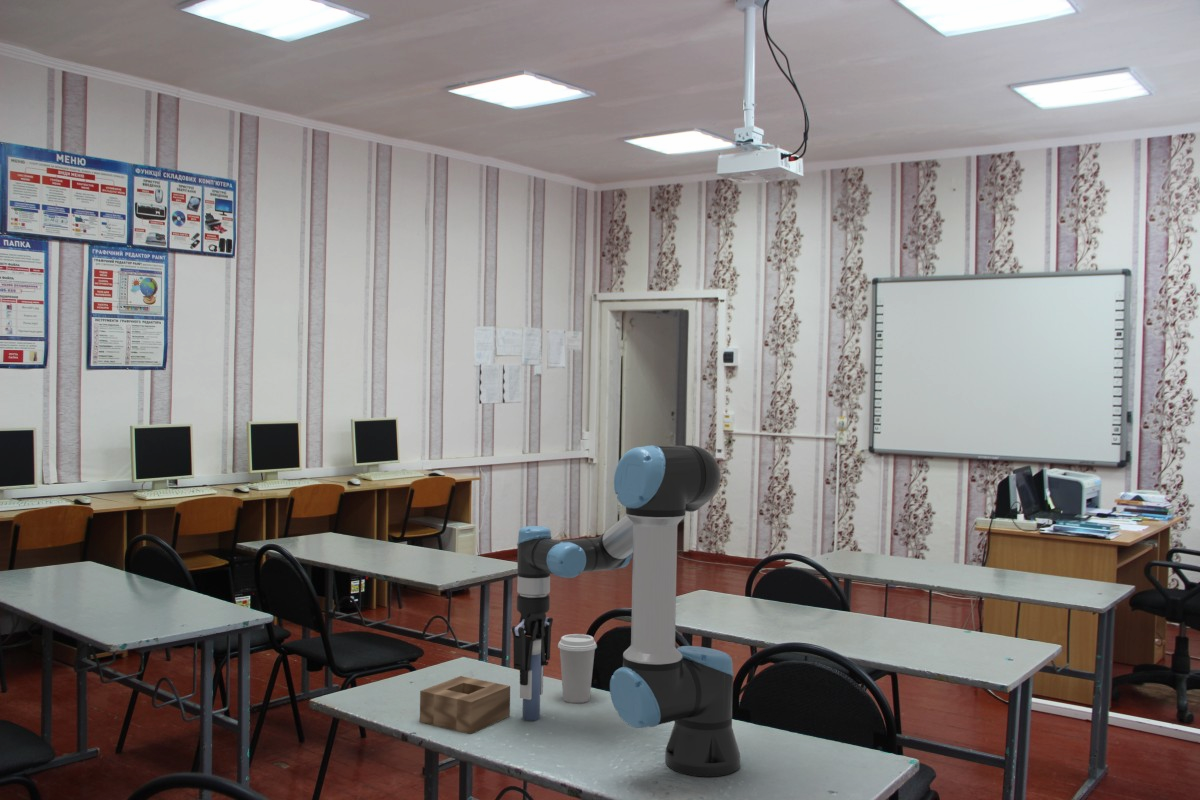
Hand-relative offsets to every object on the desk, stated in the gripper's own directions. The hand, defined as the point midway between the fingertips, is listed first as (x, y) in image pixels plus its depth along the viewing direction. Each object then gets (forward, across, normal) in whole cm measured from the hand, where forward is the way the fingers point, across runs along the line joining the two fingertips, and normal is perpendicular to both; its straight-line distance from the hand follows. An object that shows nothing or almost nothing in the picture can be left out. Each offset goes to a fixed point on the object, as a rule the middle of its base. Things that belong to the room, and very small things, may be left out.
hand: (531, 695), depth 229 cm
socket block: (+5, +9, -12) cm, 16 cm away
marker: (+5, 0, 0) cm, 5 cm away
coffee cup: (+5, -18, +1) cm, 19 cm away
